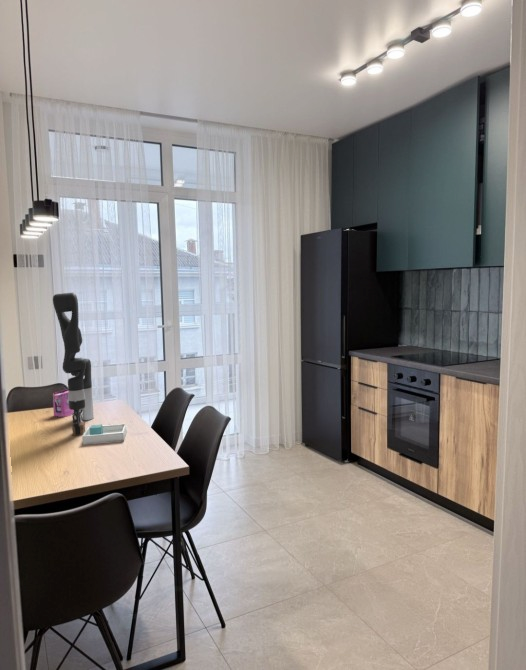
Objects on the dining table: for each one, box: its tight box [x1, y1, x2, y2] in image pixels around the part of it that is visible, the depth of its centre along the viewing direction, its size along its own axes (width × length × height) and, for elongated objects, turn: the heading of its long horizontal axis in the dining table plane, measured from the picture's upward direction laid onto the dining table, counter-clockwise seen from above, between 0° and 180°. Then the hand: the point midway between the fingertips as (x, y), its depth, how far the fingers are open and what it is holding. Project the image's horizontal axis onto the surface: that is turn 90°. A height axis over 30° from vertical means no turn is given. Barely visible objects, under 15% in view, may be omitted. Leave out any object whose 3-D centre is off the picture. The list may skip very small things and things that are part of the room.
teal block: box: [89, 424, 103, 435], centre depth 222 cm, size 5×5×5 cm
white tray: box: [81, 423, 128, 446], centre depth 223 cm, size 16×18×4 cm
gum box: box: [52, 388, 74, 418], centre depth 275 cm, size 24×8×14 cm, turn 161°
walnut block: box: [71, 421, 86, 436], centre depth 232 cm, size 5×5×5 cm
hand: (79, 432), depth 232 cm, fingers closed on walnut block, 5 cm apart
